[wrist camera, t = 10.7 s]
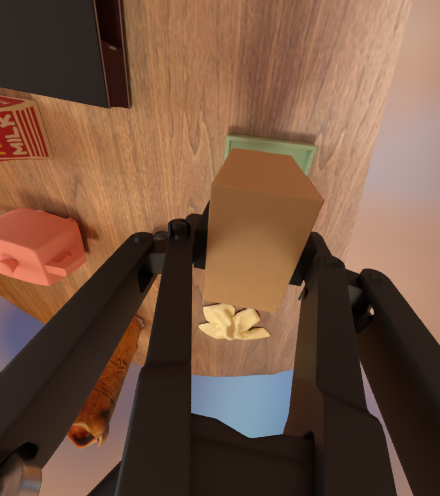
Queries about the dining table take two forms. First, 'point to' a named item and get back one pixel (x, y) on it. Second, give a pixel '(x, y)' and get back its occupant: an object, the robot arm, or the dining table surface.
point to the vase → (105, 392)
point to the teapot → (39, 246)
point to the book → (65, 50)
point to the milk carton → (22, 130)
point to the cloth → (231, 323)
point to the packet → (257, 228)
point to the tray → (274, 148)
